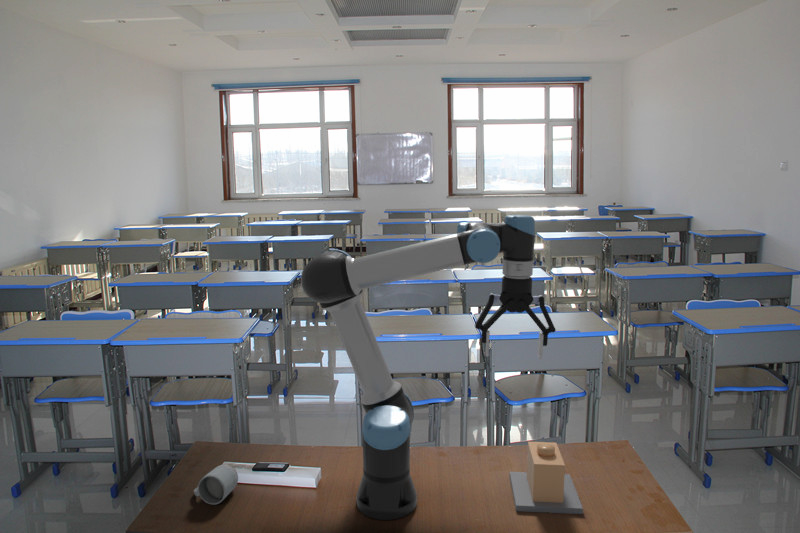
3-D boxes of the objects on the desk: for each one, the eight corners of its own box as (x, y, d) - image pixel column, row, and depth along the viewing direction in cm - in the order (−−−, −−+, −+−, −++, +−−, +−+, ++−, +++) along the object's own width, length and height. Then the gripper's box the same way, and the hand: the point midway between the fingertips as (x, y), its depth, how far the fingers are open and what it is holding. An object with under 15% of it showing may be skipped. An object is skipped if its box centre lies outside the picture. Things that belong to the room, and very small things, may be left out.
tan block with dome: (526, 476, 154) (528, 435, 153) (554, 477, 154) (556, 436, 152) (532, 501, 143) (534, 457, 141) (563, 502, 142) (565, 459, 140)
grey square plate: (516, 511, 141) (517, 473, 140) (509, 476, 157) (510, 442, 156) (582, 514, 140) (584, 476, 138) (569, 479, 156) (571, 444, 154)
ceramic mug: (241, 489, 152) (239, 461, 150) (225, 506, 144) (223, 478, 142) (204, 485, 154) (202, 458, 152) (187, 502, 146) (184, 474, 145)
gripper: (467, 277, 144) (465, 358, 148) (570, 280, 142) (564, 363, 145) (467, 271, 152) (465, 349, 155) (565, 275, 149) (560, 354, 153)
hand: (513, 356), depth 150 cm, fingers open, 13 cm apart
